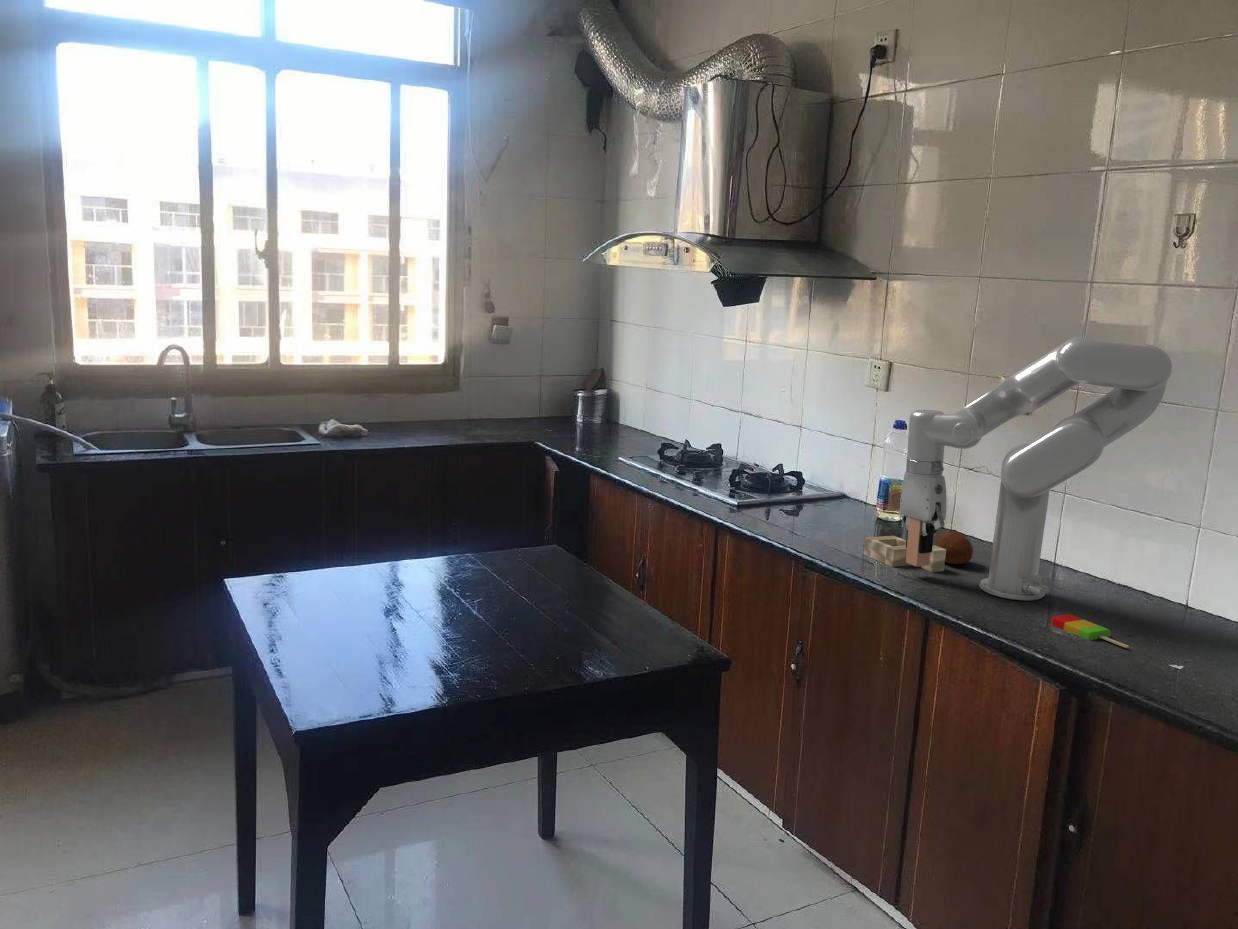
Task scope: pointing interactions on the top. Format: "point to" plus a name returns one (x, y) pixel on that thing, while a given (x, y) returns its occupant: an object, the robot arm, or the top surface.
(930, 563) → the short peg
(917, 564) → the long peg
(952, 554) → the brown oval lump
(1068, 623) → the popsicle
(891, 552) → the slot block
